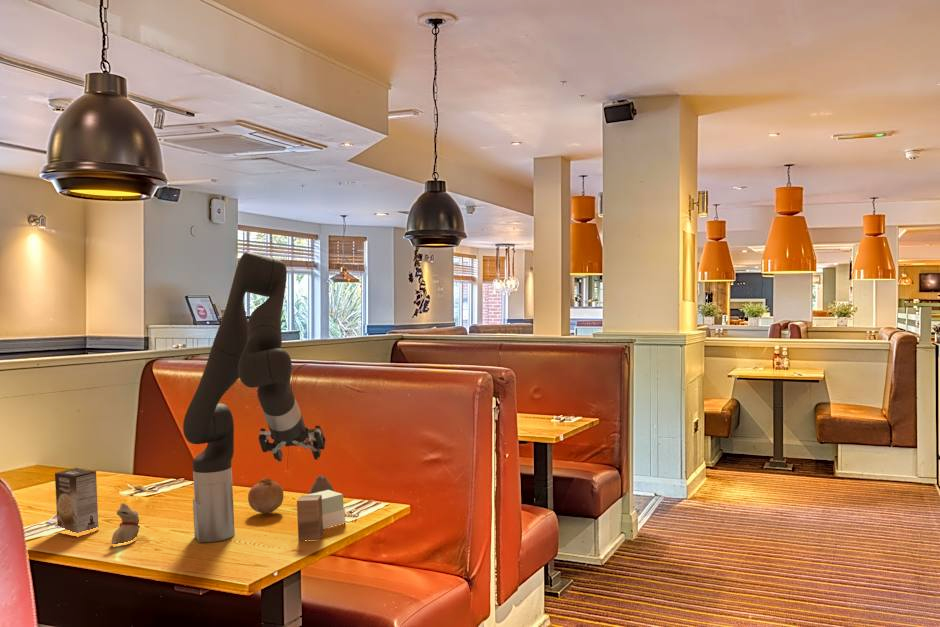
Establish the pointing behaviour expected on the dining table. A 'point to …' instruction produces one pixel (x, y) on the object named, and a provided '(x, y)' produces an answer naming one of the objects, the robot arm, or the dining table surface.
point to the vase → (321, 485)
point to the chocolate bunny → (126, 525)
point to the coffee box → (76, 499)
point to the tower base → (333, 518)
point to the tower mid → (330, 501)
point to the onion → (265, 496)
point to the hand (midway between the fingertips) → (298, 457)
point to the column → (310, 517)
